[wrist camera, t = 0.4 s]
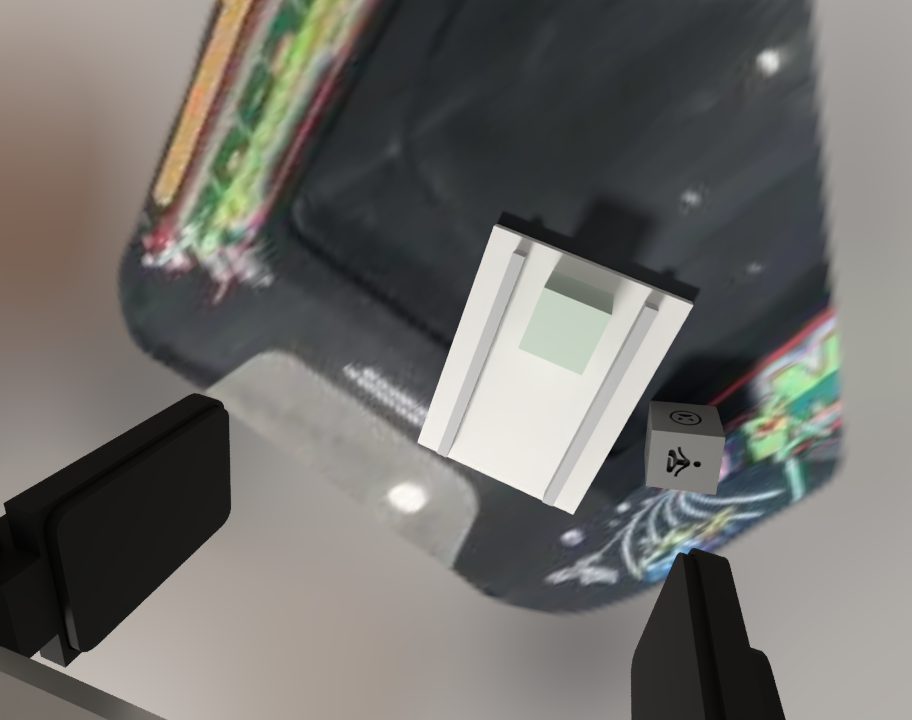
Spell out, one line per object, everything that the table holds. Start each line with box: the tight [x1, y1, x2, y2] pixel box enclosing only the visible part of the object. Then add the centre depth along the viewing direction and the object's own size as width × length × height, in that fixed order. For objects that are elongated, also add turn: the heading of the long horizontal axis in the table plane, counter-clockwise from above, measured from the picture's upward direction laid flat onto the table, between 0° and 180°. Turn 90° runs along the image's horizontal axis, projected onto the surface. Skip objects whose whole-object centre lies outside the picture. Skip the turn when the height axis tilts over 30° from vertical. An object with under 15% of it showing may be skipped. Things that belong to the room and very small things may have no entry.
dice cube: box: [645, 401, 726, 495], centre depth 43 cm, size 5×5×5 cm
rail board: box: [417, 224, 693, 514], centre depth 44 cm, size 22×16×6 cm
